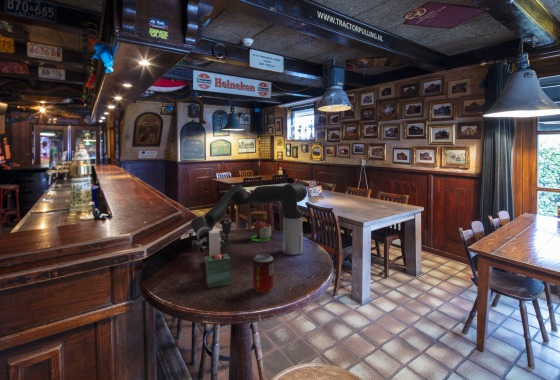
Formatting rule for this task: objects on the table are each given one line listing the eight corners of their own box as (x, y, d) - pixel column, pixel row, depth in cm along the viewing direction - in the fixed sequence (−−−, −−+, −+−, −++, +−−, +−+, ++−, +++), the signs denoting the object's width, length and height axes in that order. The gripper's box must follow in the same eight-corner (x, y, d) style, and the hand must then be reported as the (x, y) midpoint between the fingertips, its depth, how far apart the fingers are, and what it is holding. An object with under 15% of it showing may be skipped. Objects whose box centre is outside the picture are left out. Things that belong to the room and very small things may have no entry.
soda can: (275, 286, 108) (275, 253, 107) (270, 295, 101) (270, 260, 100) (257, 284, 110) (256, 252, 108) (250, 293, 103) (250, 259, 101)
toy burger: (246, 241, 160) (245, 214, 158) (253, 235, 172) (253, 209, 170) (267, 243, 157) (267, 215, 155) (273, 236, 169) (273, 210, 167)
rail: (230, 284, 110) (230, 258, 108) (208, 288, 107) (207, 261, 105) (217, 260, 133) (216, 238, 132) (199, 262, 130) (198, 240, 129)
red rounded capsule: (222, 269, 109) (222, 256, 108) (214, 270, 108) (214, 257, 107) (221, 266, 112) (220, 253, 111) (213, 267, 110) (213, 254, 110)
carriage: (223, 276, 114) (222, 233, 112) (210, 278, 112) (208, 234, 110) (220, 270, 120) (219, 229, 117) (207, 272, 118) (206, 230, 115)
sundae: (235, 239, 165) (234, 212, 163) (229, 242, 158) (228, 214, 156) (224, 237, 167) (224, 211, 165) (218, 241, 160) (217, 213, 158)
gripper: (222, 242, 136) (231, 255, 121) (189, 247, 130) (194, 260, 115) (222, 226, 135) (230, 237, 120) (189, 230, 129) (193, 241, 114)
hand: (213, 248), depth 118 cm, fingers open, 8 cm apart
